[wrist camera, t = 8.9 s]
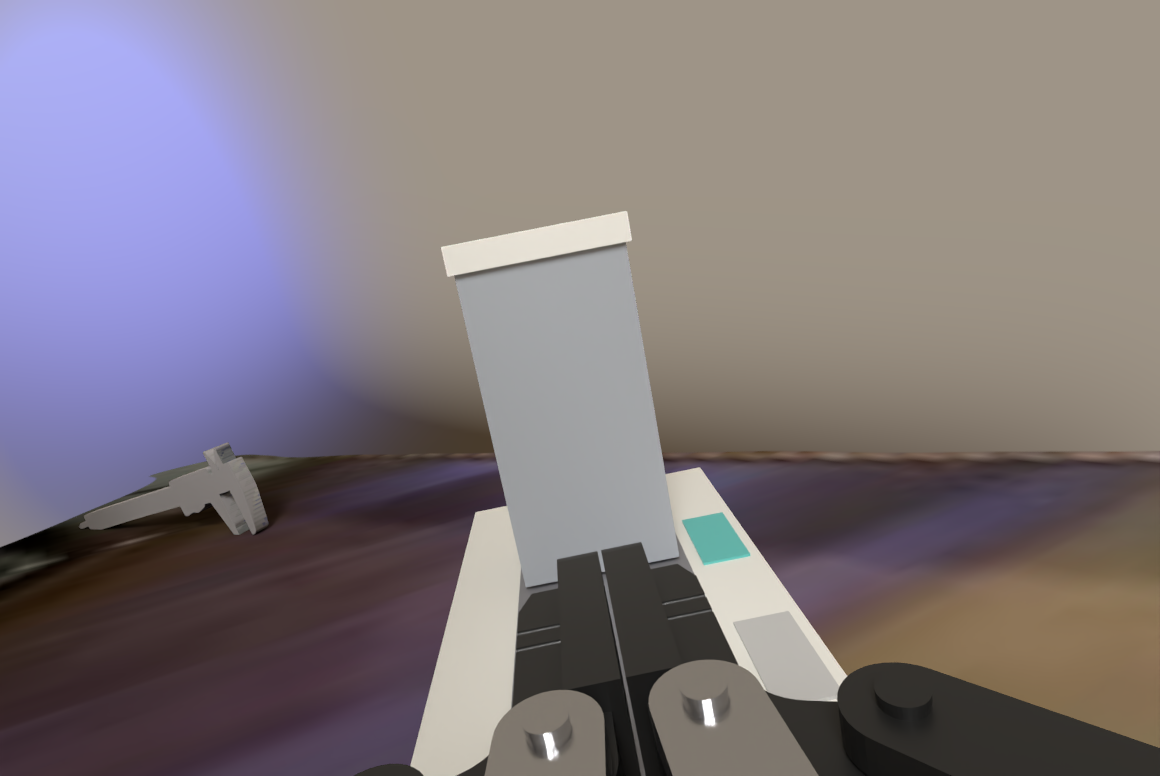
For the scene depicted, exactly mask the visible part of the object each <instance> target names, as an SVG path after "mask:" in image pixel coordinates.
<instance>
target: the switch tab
mask: <svg viewBox="0 0 1160 776" xmlns="http://www.w3.org/2000/svg"><path fill="white" fill-rule="evenodd" d="M627 241H632V237H631V232H630V226H629V220H628V214H627V211H624V212H619V213H613V214H609V215H603V216H599V217H593V218H588V219H583V220H578V221H572V222H567V223H562V224H557V225H552V226H547V227H542V228H536V229H531V230H526V231H521V232H516V233H511V234H506V235H501V236H495V237H491V238H485V239H480V240H476V241H470V242H465V243H460V244H454V245H449V246H444V247H441V250H442V254H443V259H444V263H445V267H446V272H447V276H453V275H454V276H455V281H456V285H457V289H458V294H459V298H460V302H461V307H462V311H463V315H464V320H465V324H466V329H467V333H468V337H469V342H470V346H471V351H472V355H473V359H474V364H475V368H476V372H477V376H478V381H479V385H480V390H481V394H482V399H483V403H484V407H485V412H486V416H487V420H488V425H489V429H490V433H491V438H492V442H493V447H494V451H495V455H496V460H497V464H498V468H499V473H500V477H501V481H502V486H503V490H504V495H505V499H506V503H507V508H508V512H509V516H510V521H511V525H512V529H513V534H514V538H515V543H516V547H517V551H518V556H519V560H520V564H521V569H522V573H523V577H524V582H525V586H526V587H531V586H536V585H541V584H546V583H551V582H556V581H558V576H557V559H561V558H566V557H570V556H575V555H580V554H585V553H590V552H595V551H597V552H598V556H599V561H600V566H601V571H602V572H605V568H604V563H603V558H602V553H601V550H604V549H609V548H614V547H619V546H623V545H628V544H633V543H638V542H641V543H642V545H643V548H644V551H645V554H646V557H647V560H648V563H650V562H655V561H660V560H665V559H670V558H675V557H679V551H678V545H677V540H676V534H675V528H674V522H673V516H672V510H671V504H670V499H669V493H668V487H667V481H666V475H665V469H664V464H663V458H662V452H661V446H660V440H659V434H658V428H657V423H656V417H655V411H654V405H653V399H652V394H651V388H650V382H649V376H648V370H647V364H646V359H645V352H644V347H643V341H642V335H641V330H640V323H639V317H638V311H637V306H636V300H635V294H634V289H633V282H632V276H631V271H630V265H629V259H628V253H627V247H626V242H627Z"/></svg>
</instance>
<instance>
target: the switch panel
mask: <svg viewBox="0 0 1160 776" xmlns="http://www.w3.org/2000/svg"><path fill="white" fill-rule="evenodd" d="M665 475H666V481H667V487H668V493H669V499H670V504H671V510H672V516H673V522H674V528H675V534H676V540H677V545H678V551H679V557H675V558H670V559H665V560H660V561H655V562H650V563H649V566H650V569H654V568H659V567H663V566H668V565H673V564H679V565H680V566H682V567H683V568H685V569H687V570H688V571H690V572H691V573H693V574H694V575H696V576H697V578H698V580H699V582H700V585H701V587H702V589H703V591H704V593H705V597H707V599H708V601H709V604H710V606H711V608H712V612H714V614H715V616H716V618H717V620H718V623H719V625H720V627H721V629H722V631H723V633H724V635H725V637H726V639H727V642H728V644H729V646H730V648H731V650H732V652H733V654H734V656H735V658H736V661H737V663H738V665H739V666H741V667H743V668H745V669H746V670H748V671H749V672H751V673H752V674H753V675H754V676H755V677H756V678H757V680H758V681H759V682H760V684H761V685H762V687H763V689H764V690H765V691H767V692H769V693H772V694H774V695H778V696H781V697H784V698H790V699H795V700H807V701H836V702H837V693H838V689H839V687H840V685H841V683H842V682H843V680H844V679H845V678H846V677H847V675H846V674H845V673H844V671H843V670H842V668H841V667H840V665H839V664H838V663H837V661H836V660H835V658H834V657H833V656H832V654H831V653H830V651H829V650H828V648H827V647H826V646H825V644H824V643H823V641H822V640H821V638H820V637H819V636H818V634H817V633H816V631H815V630H814V629H813V627H812V626H811V624H810V623H809V621H808V620H807V619H806V617H805V616H804V614H803V613H802V612H801V610H800V609H799V607H798V606H797V604H796V603H795V602H794V600H793V599H792V597H791V596H790V595H789V593H788V592H787V590H786V589H785V587H784V586H783V585H782V583H781V582H780V580H779V579H778V578H777V576H776V575H775V573H774V572H773V570H772V569H771V568H770V566H769V565H768V563H767V562H766V560H765V559H764V558H763V556H762V555H761V553H760V552H759V551H758V549H757V548H756V546H755V545H754V543H753V542H752V541H751V539H750V538H749V536H748V535H747V534H746V532H745V531H744V529H743V528H742V526H741V525H740V524H739V522H738V521H737V519H736V518H735V517H734V515H733V514H732V512H731V511H730V509H729V508H728V507H727V505H726V504H725V502H724V501H723V499H722V498H721V497H720V495H719V494H718V492H717V491H716V490H715V488H714V487H713V485H712V484H711V482H710V481H709V480H708V478H707V477H706V475H705V474H704V473H703V471H702V470H701V468H695V469H690V470H685V471H680V472H675V473H670V474H665ZM602 576H603V581H604V586H605V591H606V596H607V601H608V605H609V610H610V615H611V620H612V625H613V630H614V635H615V640H616V645H617V650H618V655H619V660H620V665H621V671H622V676H623V681H624V687H625V692H626V697H627V703H628V708H629V713H630V719H631V724H632V729H633V734H634V740H635V745H636V750H637V756H638V761H639V766H640V772H641V776H646V775H645V770H644V765H643V760H642V755H641V750H640V745H639V740H638V735H637V730H636V725H635V720H634V715H633V710H632V705H631V700H630V695H629V691H628V686H627V681H626V676H625V671H624V665H623V660H622V655H621V650H620V645H619V640H618V635H617V630H616V624H615V619H614V614H613V609H612V604H611V599H610V594H609V589H608V584H607V578H606V573H605V572H602ZM557 588H558V581H556V582H551V583H546V584H541V585H536V586H531V587H526V586H525V582H524V577H523V573H522V569H521V564H520V560H519V556H518V551H517V547H516V543H515V538H514V534H513V529H512V525H511V521H510V516H509V512H508V508H507V506H504V507H499V508H494V509H489V510H484V511H479V512H476V513H475V517H474V520H473V524H472V528H471V532H470V536H469V540H468V544H467V548H466V552H465V555H464V559H463V563H462V567H461V571H460V575H459V579H458V583H457V587H456V590H455V594H454V598H453V602H452V606H451V610H450V614H449V618H448V622H447V625H446V629H445V633H444V637H443V641H442V645H441V649H440V653H439V657H438V660H437V664H436V668H435V672H434V676H433V680H432V684H431V688H430V692H429V695H428V699H427V703H426V707H425V711H424V715H423V719H422V723H421V727H420V730H419V734H418V738H417V742H416V746H415V750H414V754H413V758H412V762H411V765H410V766H411V767H414V768H415V769H417V770H419V771H420V772H421V773H422V774H423V775H424V776H456V775H458V774H461V773H463V772H464V771H466V770H468V769H470V768H472V767H473V766H475V765H476V764H478V763H479V762H481V761H482V760H483V759H485V758H486V757H487V756H488V755H489V751H490V746H491V741H492V737H493V733H494V730H495V728H496V726H497V724H498V723H499V721H500V720H501V719H502V717H503V716H504V715H505V714H506V713H507V712H508V711H509V710H510V709H512V704H513V689H514V674H515V658H516V653H517V650H516V643H517V636H518V633H517V628H518V613H519V611H520V610H521V608H522V607H523V606H524V604H525V603H526V601H527V600H528V598H529V597H530V595H531V594H533V593H538V592H543V591H547V590H552V589H557Z"/></svg>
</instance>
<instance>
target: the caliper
mask: <svg viewBox="0 0 1160 776" xmlns="http://www.w3.org/2000/svg"><path fill="white" fill-rule="evenodd" d="M203 454H204V456H205V458H206V460H207V462H208V464H209V465H210V466H208V467H205V468H203V469H200V470H197V471H194V472H191V473H189V474H186V475H183V476H181V477H178V478H176V479H174V480H171V481H169V485H170V486H169V487H166V488H163V489H160V490H157V491H154V492H150V493H147V494H144V495H141V496H138V497H135V498H132V499H129V500H126V501H123V502H120V503H117V504H114V505H111V506H108V507H105V508H102V509H99V510H96V511H93V512H91V513H89V514H86V515H84V518H85V520H86V521H85V522H83V523H80V526H79V528H81V529H82V528H86V527H89V528H90V529H100V530H102V529H105V528H108V527H112V526H115V525H118V524H121V523H124V522H128V521H131V520H134V519H138V518H141V517H144V516H148V515H151V514H155V513H158V512H162V511H165V510H169V509H172V508H176V507H179V506H180V507H181V509H182V511H183V513H184V514H185V516H189V515H191V514H193V513H199V512H201V511H203V510H205V509H208V508H210V507H212V506H213V507H214V508H215V509H216V511H217V512H218V513H219V515H220V516H221V517H222V519H223V520H224V522H225V523H226V524H227V526H228V527H229V528H230V530H231V531H232V532H233V534H234V535H240V534H242V533H243V532H245V531H247V530H249V529H250V531H251V533H252V535H254V534H255V533H257V532H259V531H261V530H262V529H264V528H266V527H267V526H268V524H269V523H268V519H267V516H266V513H265V510H264V506H263V503H262V500H261V497H260V494H259V491H258V488H257V485H256V483H255V481H254V479H253V477H252V475H251V473H250V472H249V470H248V468H247V466H246V464H245V462H244V460H243V458H242V457H239V458H236V457H235V455H234V453H233V451H232V449H231V447H230V445H229V443H225V444H223V445H220V446H218V447H215V448H212V449H210V450H207V451H205V452H203Z"/></svg>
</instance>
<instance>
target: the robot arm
mask: <svg viewBox="0 0 1160 776" xmlns="http://www.w3.org/2000/svg"><path fill="white" fill-rule="evenodd" d="M601 553H602V558H603V563H604V568H605V573H606V578H607V584H608V589H609V594H610V599H611V604H612V609H613V614H614V619H615V624H616V630H617V635H618V640H619V645H620V650H621V655H622V660H623V665H624V671H625V676H626V681H627V686H628V691H629V695H630V700H631V705H632V710H633V715H634V720H635V725H636V730H637V735H638V740H639V745H640V750H641V755H642V760H643V765H644V770H645V775H646V776H1160V748H1158V747H1155V746H1152V745H1149V744H1146V743H1143V742H1140V741H1137V740H1134V739H1131V738H1129V737H1126V736H1123V735H1120V734H1117V733H1114V732H1111V731H1108V730H1105V729H1103V728H1100V727H1097V726H1094V725H1091V724H1088V723H1085V722H1082V721H1079V720H1076V719H1074V718H1071V717H1068V716H1065V715H1062V714H1059V713H1056V712H1053V711H1050V710H1047V709H1045V708H1042V707H1039V706H1036V705H1033V704H1030V703H1027V702H1024V701H1021V700H1018V699H1016V698H1013V697H1010V696H1007V695H1004V694H1001V693H998V692H995V691H992V690H990V689H987V688H984V687H981V686H978V685H975V684H972V683H969V682H966V681H963V680H961V679H958V678H955V677H952V676H949V675H946V674H943V673H940V672H937V671H934V670H932V669H928V668H925V667H922V666H918V665H913V664H907V663H879V664H873V665H869V666H865V667H863V668H860V669H858V670H856V671H854V672H853V673H851V674H850V675H848V676H847V677H846V678H845V679H844V680H843V682H842V683H841V685H840V687H839V689H838V693H837V702H836V701H807V700H795V699H790V698H784V697H781V696H778V695H774V694H772V693H769V692H767V691H765V690H764V689H763V687H762V685H761V684H760V682H759V681H758V680H757V678H756V677H755V676H754V675H753V674H752V673H751V672H749V671H748V670H746V669H745V668H743V667H741V666H739V665H738V663H737V661H736V658H735V656H734V654H733V652H732V650H731V648H730V646H729V644H728V642H727V639H726V637H725V635H724V633H723V631H722V629H721V627H720V625H719V623H718V620H717V618H716V616H715V614H714V612H712V608H711V606H710V604H709V601H708V599H707V597H705V593H704V591H703V589H702V587H701V585H700V582H699V580H698V578H697V576H696V575H694V574H693V573H691V572H690V571H688V570H687V569H685V568H683V567H682V566H680V565H679V564H673V565H668V566H663V567H659V568H654V569H650V566H649V563H648V560H647V557H646V554H645V551H644V548H643V545H642V543H641V542H638V543H633V544H628V545H623V546H619V547H614V548H609V549H604V550H601ZM557 576H558V588H557V589H552V590H547V591H543V592H538V593H533V594H531V595H530V597H529V598H528V600H527V601H526V603H525V604H524V606H523V607H522V608H521V610H520V611H519V613H518V628H517V633H518V636H517V643H516V650H517V653H516V658H515V674H514V689H513V704H512V709H510V710H509V711H508V712H507V713H506V714H505V715H504V716H503V717H502V719H501V720H500V721H499V723H498V724H497V726H496V728H495V730H494V733H493V737H492V741H491V746H490V751H489V755H488V756H487V757H486V758H485V759H483V760H482V761H481V762H479V763H478V764H476V765H475V766H473V767H472V768H470V769H468V770H466V771H464V772H463V773H461V774H458V775H456V776H641V772H640V766H639V761H638V756H637V750H636V745H635V740H634V734H633V729H632V724H631V719H630V713H629V708H628V703H627V697H626V692H625V687H624V681H623V676H622V671H621V665H620V660H619V655H618V650H617V645H616V640H615V635H614V630H613V625H612V620H611V615H610V610H609V605H608V601H607V596H606V591H605V586H604V581H603V576H602V571H601V566H600V561H599V556H598V552H597V551H595V552H590V553H585V554H580V555H575V556H570V557H566V558H561V559H557ZM354 776H424V775H423V774H422V773H421V772H420V771H419V770H417V769H415V768H414V767H411V766H408V765H403V764H387V765H381V766H377V767H374V768H370V769H367V770H365V771H363V772H360V773H358V774H356V775H354Z"/></svg>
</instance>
